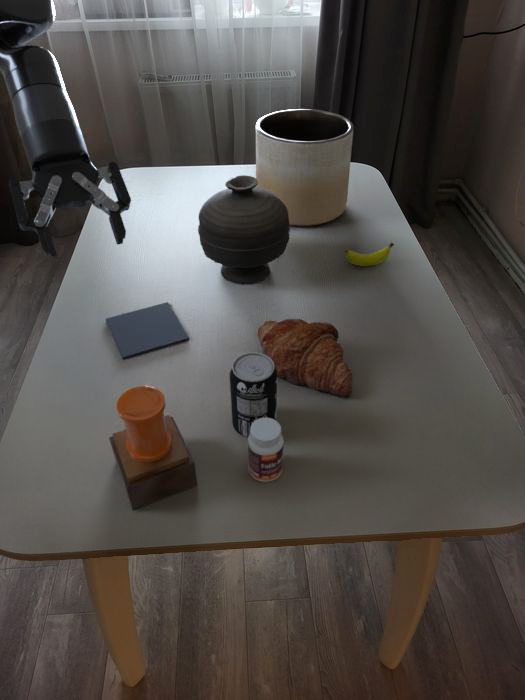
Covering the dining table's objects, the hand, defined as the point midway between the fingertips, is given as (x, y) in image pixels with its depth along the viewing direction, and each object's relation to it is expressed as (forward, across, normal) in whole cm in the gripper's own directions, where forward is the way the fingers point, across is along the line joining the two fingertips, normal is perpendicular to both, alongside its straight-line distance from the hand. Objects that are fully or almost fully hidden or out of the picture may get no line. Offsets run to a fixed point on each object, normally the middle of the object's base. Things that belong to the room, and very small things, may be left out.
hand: (88, 249), depth 72 cm
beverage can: (+30, +16, +7) cm, 34 cm away
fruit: (+8, +56, +28) cm, 63 cm away
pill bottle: (+35, +14, +2) cm, 38 cm away
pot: (+2, +32, +35) cm, 47 cm away
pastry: (+23, +29, +14) cm, 40 cm away
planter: (-12, +56, +49) cm, 75 cm away
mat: (+9, +8, +28) cm, 30 cm away
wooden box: (+31, 0, +6) cm, 31 cm away
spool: (+27, 0, +1) cm, 27 cm away
